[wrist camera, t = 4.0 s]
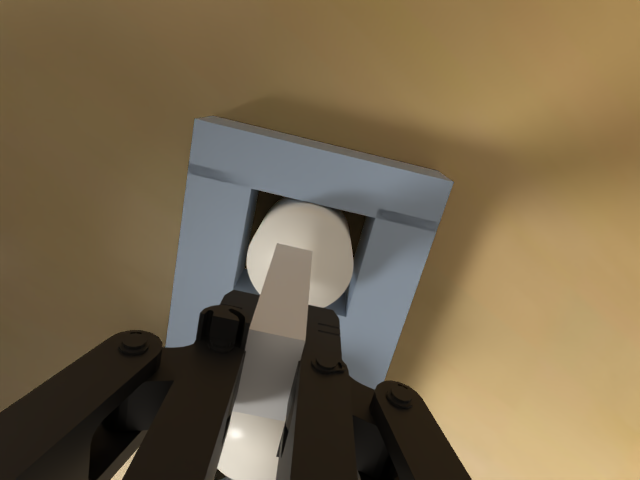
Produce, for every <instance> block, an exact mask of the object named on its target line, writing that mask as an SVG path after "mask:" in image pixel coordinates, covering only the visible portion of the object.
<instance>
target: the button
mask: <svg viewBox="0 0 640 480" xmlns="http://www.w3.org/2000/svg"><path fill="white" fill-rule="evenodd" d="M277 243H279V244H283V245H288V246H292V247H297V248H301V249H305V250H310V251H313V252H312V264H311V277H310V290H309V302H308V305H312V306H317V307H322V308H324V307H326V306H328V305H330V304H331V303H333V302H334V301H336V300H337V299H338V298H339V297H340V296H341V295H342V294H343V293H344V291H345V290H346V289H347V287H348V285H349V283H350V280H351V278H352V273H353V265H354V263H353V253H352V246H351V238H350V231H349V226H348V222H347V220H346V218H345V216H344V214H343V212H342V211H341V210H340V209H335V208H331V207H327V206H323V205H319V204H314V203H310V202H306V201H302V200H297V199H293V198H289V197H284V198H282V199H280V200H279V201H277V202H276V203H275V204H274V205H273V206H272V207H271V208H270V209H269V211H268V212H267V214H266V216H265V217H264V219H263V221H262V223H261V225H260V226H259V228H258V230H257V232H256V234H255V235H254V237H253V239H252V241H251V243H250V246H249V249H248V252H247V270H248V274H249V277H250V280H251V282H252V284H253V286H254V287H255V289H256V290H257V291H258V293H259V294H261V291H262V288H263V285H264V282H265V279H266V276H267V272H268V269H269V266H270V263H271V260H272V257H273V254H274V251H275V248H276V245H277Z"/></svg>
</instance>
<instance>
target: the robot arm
mask: <svg viewBox="0 0 640 480" xmlns="http://www.w3.org/2000/svg"><path fill="white" fill-rule="evenodd" d="M312 252H313V251H310V250H305V249H301V248H297V247H292V246H288V245H283V244H279V243H277V245H276V248H275V251H274V254H273V257H272V260H271V263H270V266H269V269H268V272H267V276H266V279H265V282H264V285H263V288H262V291H261V294H260V295H256V294H252V293H247V292H242V291H238V290H232V291H231V292H229V293H227V294H225V295H224V297H223V299H222V301H221V303H220V305H214V306H210V307H207V308H204V309H203V310H202V311H201V312H200V315H199V322H198V328H197V334H196V340H195V342H194V344H192V345H188V346H184V347H166V348H162V341H161V340H160V339H159V337H158V336H156V335H154V334H152V333H150V332H146V331H141V330H130V331H125V332H120V333H118V334H116V335H114V336H111V337H110V338H108V339H107V340H105V341H104V342H103V343H101V344H100V345H98V346H97V347H95V348H94V349H92V350H91V351H89V352H88V353H87V354H85V355H84V356H82V357H81V358H79V359H78V360H76V361H75V362H73V363H72V364H70V365H69V366H68V367H66V368H65V369H63V370H62V371H60V372H59V373H57V374H56V375H54V376H53V377H52V378H50V379H49V380H47V381H46V382H44V383H43V384H41V385H40V386H38V387H37V388H35V389H34V390H33V391H31V392H30V393H28V394H27V395H25V396H24V397H22V398H21V399H19V400H18V401H17V402H15V403H14V404H12V405H11V406H9V407H8V408H6V409H5V410H3V411H2V412H1V413H0V480H110V479H111V478H112V477H113V476H114V475H115V474H116V472H117V471H118V470H119V469H120V468H121V467H122V466H123V465H124V463H125V462H126V461H127V460H128V459H129V458H130V457H131V455H132V454H133V453H134V452H135V451H136V450H137V449H138V447H139V446H140V447H139V449H138V450H137V452H136V454H135V456H134V458H133V460H132V462H131V464H130V466H129V468H128V469H127V471H126V473H125V475H124V477H123V479H122V480H214V477H215V474H216V470H217V467H218V463H219V460H220V456H221V453H222V449H223V446H224V442H225V439H226V435H227V432H228V428H229V424H230V420H231V415H232V411H234V412H239V413H244V414H249V415H254V416H259V417H264V418H270V419H275V420H280V421H285V417H286V421H285V424H284V428H283V432H282V436H281V440H280V444H279V447H278V451H277V455H276V457H279V459H278V467H277V474H276V480H472V479H471V478H470V476H469V474H468V473H467V471H466V469H465V468H464V466H463V465H462V463H461V461H460V460H459V458H458V456H457V455H456V453H455V451H454V450H453V448H452V447H451V445H450V443H449V442H448V440H447V438H446V437H445V435H444V433H443V432H442V430H441V429H440V427H439V425H438V424H437V422H436V420H435V419H434V417H433V415H432V414H431V412H430V411H429V409H428V407H427V406H426V404H425V402H424V401H423V399H422V398H421V397H420V396H419V394H418V393H417V392H416V391H414V390H413V389H412V388H410V387H409V386H407V385H405V384H402V383H400V382H395V381H383V382H381V383H379V384H378V385H377V386H376V389H375V390H374V389H372V388H370V387H367V386H365V385H363V384H361V383H359V382H357V381H356V380H354V379H353V378H352V377H350V375H349V370H348V368H347V365H346V364H345V363H344V362H343V360H342V351H341V336H340V321H339V318H338V316H337V315H336V313H335V312H334V311H333V310H331V309H326V308H322V307H317V306H312V305H308V302H309V290H310V277H311V264H312Z"/></svg>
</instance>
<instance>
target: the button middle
mask: <svg viewBox="0 0 640 480" xmlns="http://www.w3.org/2000/svg"><path fill="white" fill-rule="evenodd" d="M285 421H286V417H285ZM285 421H280V420H275V419H270V418H264V417H259V416H254V415H249V414H244V413H239V412H234V411H232V415H231V420H230V424H229V428H228V432H227V435H226V439H225V442H224V446H223V449H222V453H221V456H220V460H219V463H218V467H217V469H218V470H219V471H220V472H222V473H223V474H224V475H226V476H227V477H229V478H231V479H233V480H276V474H277V467H278V459H279V457H276V455H277V451H278V447H279V444H280V440H281V436H282V432H283V428H284V424H285Z"/></svg>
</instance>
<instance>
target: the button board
mask: <svg viewBox="0 0 640 480" xmlns="http://www.w3.org/2000/svg"><path fill="white" fill-rule="evenodd" d="M453 183H454V182H453V181H452V180H450V179H449V178H447V177H446V176H445V175H443V174H442V173H440V172H439V171H437V170H433V169H429V168H425V167H421V166H416V165H412V164H408V163H404V162H400V161H396V160H392V159H388V158H384V157H380V156H376V155H372V154H367V153H363V152H359V151H355V150H351V149H347V148H343V147H339V146H335V145H331V144H327V143H323V142H319V141H314V140H310V139H306V138H302V137H298V136H294V135H290V134H286V133H282V132H278V131H274V130H270V129H266V128H261V127H257V126H253V125H249V124H245V123H241V122H237V121H233V120H229V119H225V118H221V117H217V116H208V117H202V118H196V119H194V127H193V135H192V143H191V151H190V158H189V166H188V174H187V182H186V190H185V197H184V205H183V213H182V221H181V229H180V237H179V244H178V252H177V260H176V268H175V276H174V283H173V291H172V299H171V307H170V315H169V322H168V330H167V338H166V346H165V348H166V347H184V346H188V345H192V344H194V342H195V340H196V334H197V328H198V322H199V315H200V312H201V311H202V310H203V309H204V308H207V307H210V306H214V305H220V303H221V301H222V299H223V297H224V295H225V294H227V293H229V292H231V291H232V290H238V291H242V292H247V293H252V294H256V295H260V294H259V293H258V291H257V290H256V289H255V287H254V286H253V284H252V282H251V280H250V277H249V274H248V270H247V269H245V268H244V267H245V262H246V256H247V251H248V246H249V240H250V235H251V230H252V225H253V219H254V214H255V209H256V204H257V198H258V193H259V190H260V191H264V192H268V193H272V194H276V195H281V196H285V197H289V198H293V199H297V200H302V201H306V202H310V203H314V204H319V205H323V206H327V207H331V208H335V209H340V210H344V211H348V212H352V213H357V214H361V215H365V216H366V218H365V221H364V225H363V228H362V232H361V235H360V239H359V242H358V246H357V249H356V253H355V256H354V260H353V263H354V265H353V273H352V278H351V280H350V283H349V285H348V287H347V289H346V290H345V291H344V293H343V294H342V295H341V296H340V297H339V298H338V299H337V300H336V301H334V302H333V303H331V304H330V305H328V306H326V307H324V308H326V309H331V310H333V311H334V312H335V313H336V315H337V316H338V318H339V321H340V336H341V351H342V360H343V362H344V363H345V364H346V365H347V368H348V370H349V375H350V377H352V378H353V379H354V380H356V381H357V382H359V383H361V384H363V385H365V386H367V387H370V388H372V389H374V390H375V389H376V386H377V385H378V384H379V383H381V382H383V381H384V380H385V377H386V374H387V371H388V368H389V365H390V362H391V360H392V357H393V354H394V351H395V348H396V345H397V343H398V340H399V337H400V334H401V331H402V328H403V325H404V323H405V320H406V317H407V314H408V311H409V308H410V305H411V303H412V300H413V297H414V294H415V291H416V288H417V286H418V283H419V280H420V277H421V274H422V271H423V268H424V266H425V263H426V260H427V257H428V254H429V251H430V248H431V246H432V243H433V240H434V237H435V234H436V231H437V229H438V226H439V223H440V220H441V217H442V214H443V211H444V209H445V206H446V203H447V200H448V197H449V194H450V192H451V189H452V186H453Z"/></svg>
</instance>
